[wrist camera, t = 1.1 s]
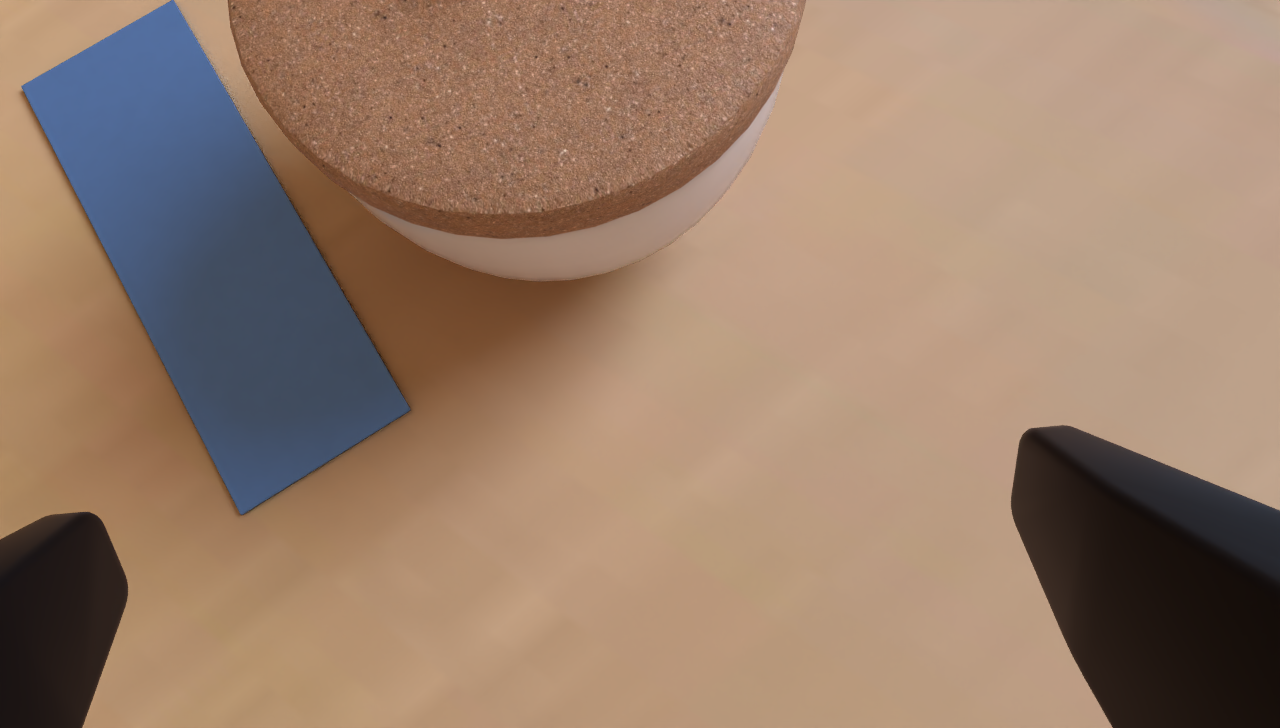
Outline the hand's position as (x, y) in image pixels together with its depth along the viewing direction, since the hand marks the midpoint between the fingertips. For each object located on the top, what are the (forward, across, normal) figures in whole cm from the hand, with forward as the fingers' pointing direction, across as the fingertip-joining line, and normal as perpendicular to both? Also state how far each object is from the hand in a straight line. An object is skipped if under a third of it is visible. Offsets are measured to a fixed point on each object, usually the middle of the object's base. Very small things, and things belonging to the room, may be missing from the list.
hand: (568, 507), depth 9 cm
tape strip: (+16, +10, +2) cm, 19 cm away
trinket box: (+17, 0, 0) cm, 17 cm away
